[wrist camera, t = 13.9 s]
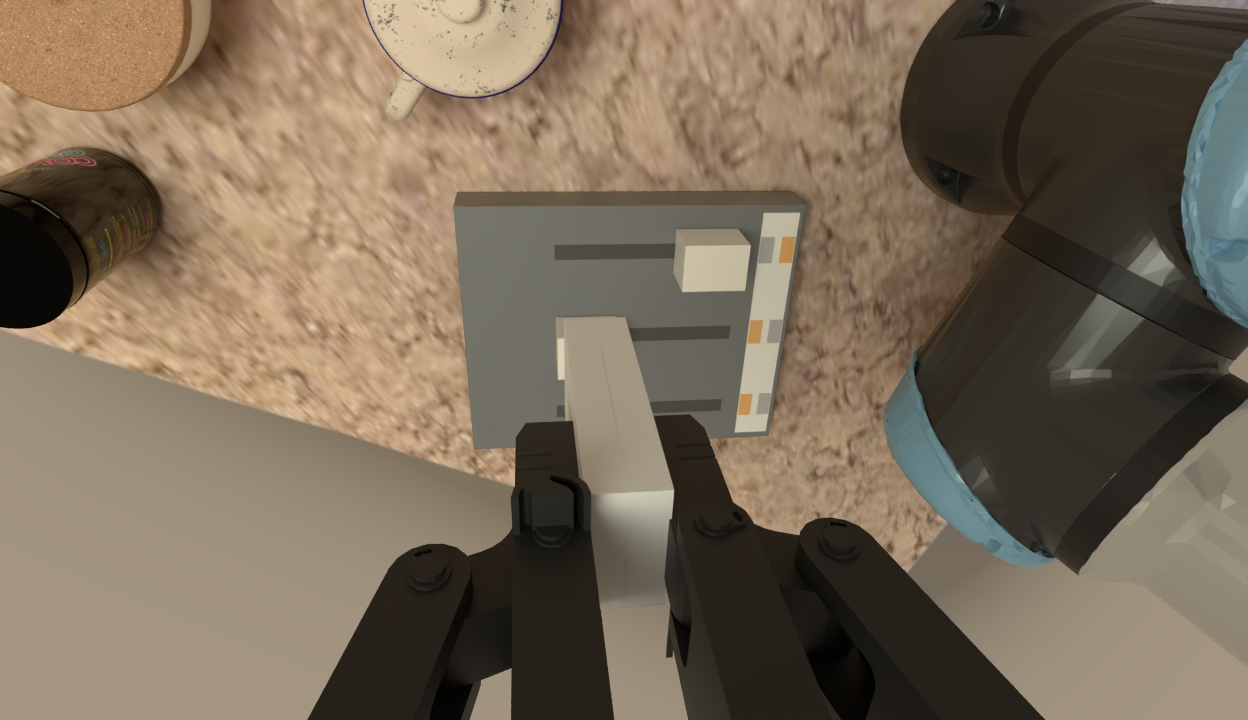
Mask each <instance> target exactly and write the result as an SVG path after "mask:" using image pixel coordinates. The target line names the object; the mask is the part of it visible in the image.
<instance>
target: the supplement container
mask: <svg viewBox="0 0 1248 720" xmlns="http://www.w3.org/2000/svg"><path fill="white" fill-rule="evenodd" d="M158 222H159V211H158V205H157V202H156V199H155V196H154V194H153V192H152V190H151V189H150V187H149V185H148V184H147V183H146V181H145V180H144V179H143V178H142V176H141V175H140V174H139V173H138V172H137V171H135V170H134V169H133V168H132V167H131V166H129V165H128V164H126V163H125V162H123V161H122V160H120V159H118V158H116V157H114V156H112V155H109V154H107V153H104V152H101V151H97V150H92V149H86V148H71V149H65V150H61V151H58V152H55V153H53V154H51V155H48V156H46V157H44V158H42V159H39V160H37V161H35V162H32V163H30V164H28V165H25V166H23V167H21V168H19V169H16V170H14V171H12V172H9V173H7V174H5V175H2V176H0V327H4V328H14V329H24V328H32V327H37V326H41V325H44V324H46V323H48V322H51V321H52V320H54V319H56V318H57V317H58V316H59V315H61V314H62V313H63V312H65V311H66V310H67V309H69V308H70V307H72V306H73V305H74V304H76V303H77V302H78V301H79V300H80V299H81V298H82V297H83V296H84V295H85V294H86V293H87V292H89V291H90V290H91V289H92V288H94V287H95V286H96V285H98V284H99V283H100V282H101V281H103V280H104V279H105V278H106V277H108V276H109V275H110V274H111V273H113V272H114V271H115V270H117V269H118V268H119V267H120V266H122V265H123V264H124V263H125V262H127V261H128V260H129V259H130V258H132V257H133V256H134V255H136V254H137V253H138V252H139V251H141V250H142V249H143V248H144V247H146V246H147V245H148V244H149V243H150V242H151V240H152V239H153V237H154V236H155V234H156V231H157V228H158Z"/></svg>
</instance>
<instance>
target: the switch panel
mask: <svg viewBox="0 0 1248 720" xmlns="http://www.w3.org/2000/svg"><path fill="white" fill-rule="evenodd" d="M805 206H806V205H805V204H804V203H803V202H802V201H801V200H800V199H799V198H797V197H796V196H795V195H794V194H793V193H792V192H791V191H695V192H457V195H456V199H455V203H454V206H453V207H454V219H455V231H456V243H457V254H458V266H459V278H460V290H461V302H462V313H463V325H464V337H465V349H466V360H467V372H468V384H469V396H470V408H471V419H472V431H473V443H474V449H494V448H516V436H517V435H518V433H519V432H520V430H521V429H522V428H523V426H524V425H525V423H531V422H555V421H566V418H565V379H564V380H558V373H557V362H556V317H592V316H616V317H625V318H626V322H627V325H628V329H629V332H630V336H631V339H632V343H633V346H634V350H635V353H636V357H637V360H638V364H639V367H640V371H641V375H642V378H643V382H644V385H645V389H646V392H647V396H648V399H649V403H650V406H651V410H652V413H653V416H660V415H684V414H690V415H691V416H692V417H693V418H694V419H696V420H697V421H698V422H699V423H700V424H701V425H702V426H703V427H704V428H705V430H706V433H707V436H708V438H709V439H711V438H733V437H754V436H768V435H769V429H770V422H771V416H772V410H773V404H774V398H775V392H776V385H777V379H778V373H779V367H780V361H781V354H782V348H783V342H784V336H785V330H786V324H787V317H788V311H789V305H790V299H791V293H792V286H793V280H794V274H795V268H796V262H797V256H798V249H799V243H800V237H801V231H802V225H803V218H804V212H805ZM676 229H739V231H740V232H741V233H742V234H743V236H744V237H745V238H746V240H747V241H748V242H749V243H750V245H751V248H750V256H749V264H748V271H747V279H746V287H745V291H710V292H682V291H681V289H680V287H679V284H678V282H677V280H676V278H675V276H674V274H673V270H674V256H675V242H676Z"/></svg>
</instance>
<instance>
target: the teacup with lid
mask: <svg viewBox="0 0 1248 720" xmlns="http://www.w3.org/2000/svg"><path fill="white" fill-rule="evenodd" d="M363 5H364V9H365V12H366V15H367V18H368V21H369V23H370V26H371V28H372V30H373V32H374V34H375V36H376V38H377V40H378V41H379V43H380V44H381V46H382V48H383V49H384V50H385V52H386V53H387V54H388V56H389V57H390V58H391V59H392V60H393V61H394V62H395V64H396V65H397V66H398V67H399V68H401V69H402V70H403V72H402V74H401V76H400V77H399V79H398V81H397V82H396V84H395V86H394V88H393V89H392V91H391V93H390V95H389V97H388V98H387V100H386V103H385V112H386V113H387V114H388V115H389V116H391V117H392V118H394V119H395V120H397V121H404V120H406V119H407V117H408V116H409V114H410V113H411V111H412V110H413V108H414V107H415V105H416V103H417V102H418V100H419V99H420V97H421V95H422V94H423V92H424V90H425V89H426V87H428V88H430V89H432V90H434V91H437V92H439V93H442V94H446V95H449V96H454V97H459V98H484V97H490V96H495V95H498V94H501V93H504V92H506V91H508V90H511V89H513V88H514V87H516V86H518V85H520V84H521V83H522V82H524V81H525V80H527V79H528V78H529V77H530V76H531V75H532V74H533V73H534V72H535V71H536V70H537V69H538V68H539V67H540V66H541V64H542V63H543V62H544V60H545V59H546V57H547V56H548V54H549V52H550V51H551V49H552V47H553V44H554V42H555V40H556V37H557V34H558V31H559V27H560V23H561V18H562V12H563V0H363Z"/></svg>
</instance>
